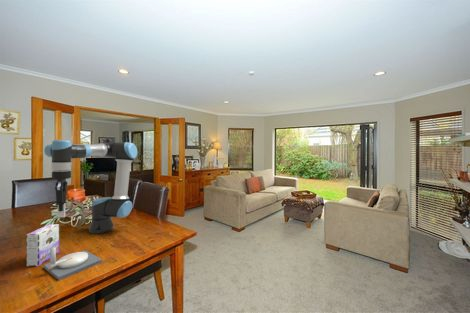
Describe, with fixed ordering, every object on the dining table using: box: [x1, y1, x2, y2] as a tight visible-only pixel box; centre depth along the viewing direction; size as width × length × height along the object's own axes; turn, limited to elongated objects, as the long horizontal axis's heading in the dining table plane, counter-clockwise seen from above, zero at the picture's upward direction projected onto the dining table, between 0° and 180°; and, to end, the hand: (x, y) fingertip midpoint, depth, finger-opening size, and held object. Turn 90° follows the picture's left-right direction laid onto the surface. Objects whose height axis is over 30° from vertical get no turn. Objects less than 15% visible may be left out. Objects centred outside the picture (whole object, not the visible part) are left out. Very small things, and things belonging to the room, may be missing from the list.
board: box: [43, 249, 103, 281], centre depth 104 cm, size 19×18×2 cm
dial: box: [49, 247, 88, 268], centre depth 103 cm, size 15×12×10 cm
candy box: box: [25, 223, 60, 267], centre depth 108 cm, size 14×6×16 cm, turn 5°
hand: (61, 216), depth 104 cm, fingers closed
